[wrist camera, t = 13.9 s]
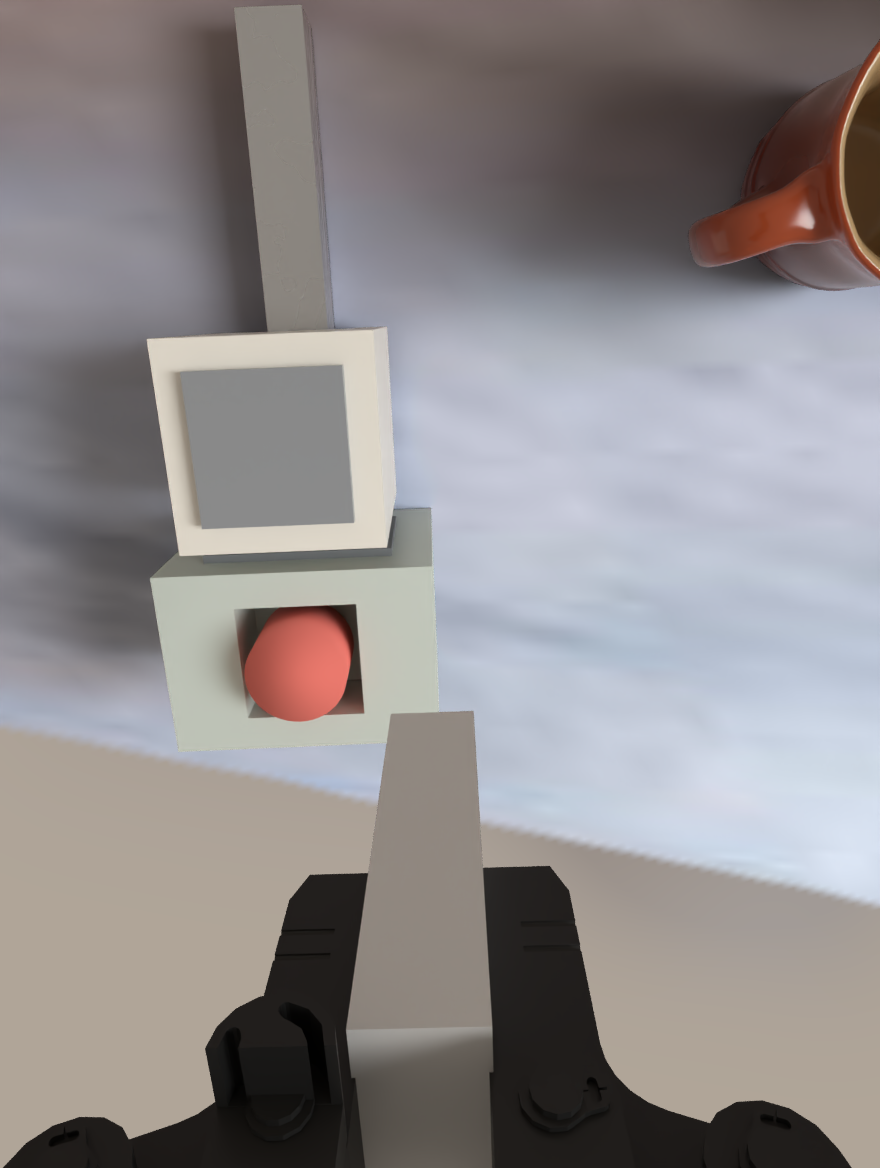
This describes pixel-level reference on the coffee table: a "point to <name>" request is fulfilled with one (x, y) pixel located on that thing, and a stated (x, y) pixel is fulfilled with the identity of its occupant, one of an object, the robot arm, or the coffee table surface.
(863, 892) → the coffee table surface
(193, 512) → the cream and grey block
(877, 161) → the mug
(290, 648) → the button
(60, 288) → the coffee table surface
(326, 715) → the end cabinet
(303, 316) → the rail
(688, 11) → the coffee table surface
